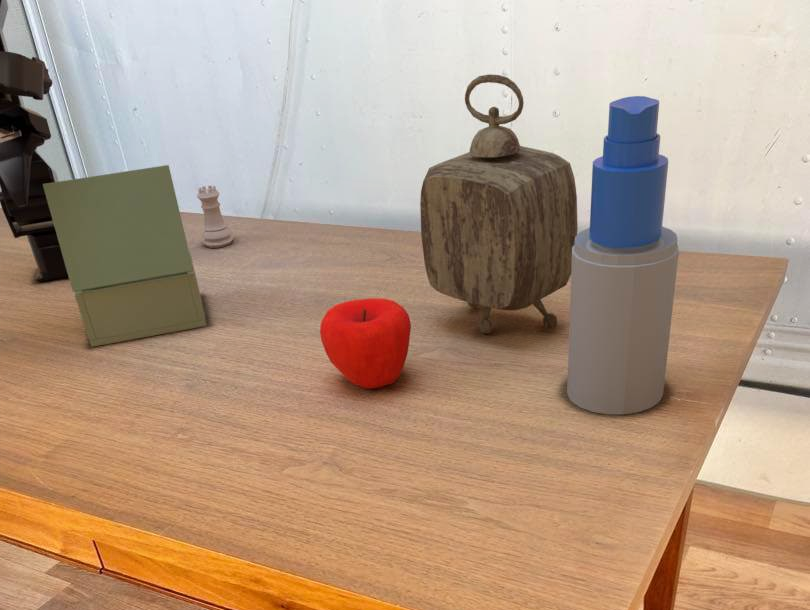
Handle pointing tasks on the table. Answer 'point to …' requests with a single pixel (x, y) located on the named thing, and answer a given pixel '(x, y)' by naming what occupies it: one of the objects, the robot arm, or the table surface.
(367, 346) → the apple
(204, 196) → the rook chess piece
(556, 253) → the tabletop clock
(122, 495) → the table surface
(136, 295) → the chest
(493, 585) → the table surface
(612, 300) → the spray bottle
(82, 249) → the chest lid
